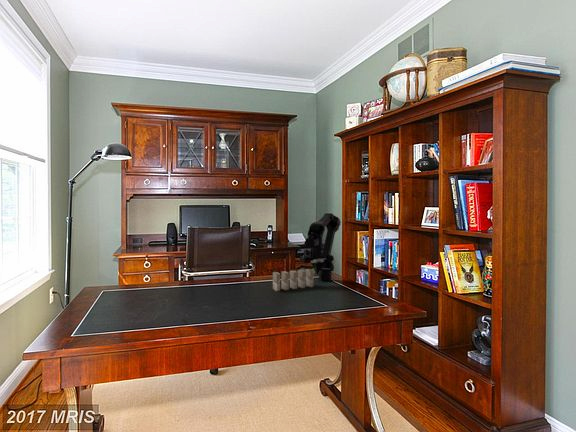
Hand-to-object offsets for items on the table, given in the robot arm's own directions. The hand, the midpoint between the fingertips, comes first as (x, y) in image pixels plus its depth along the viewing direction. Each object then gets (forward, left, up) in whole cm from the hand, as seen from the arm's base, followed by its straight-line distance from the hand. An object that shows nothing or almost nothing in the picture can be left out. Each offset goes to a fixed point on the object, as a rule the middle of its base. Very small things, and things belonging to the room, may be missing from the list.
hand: (316, 274), depth 212 cm
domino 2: (+19, 0, -6) cm, 20 cm away
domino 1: (+24, 0, -6) cm, 25 cm away
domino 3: (+14, 0, -6) cm, 16 cm away
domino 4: (+9, 0, -6) cm, 11 cm away
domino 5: (+4, 0, -6) cm, 8 cm away
